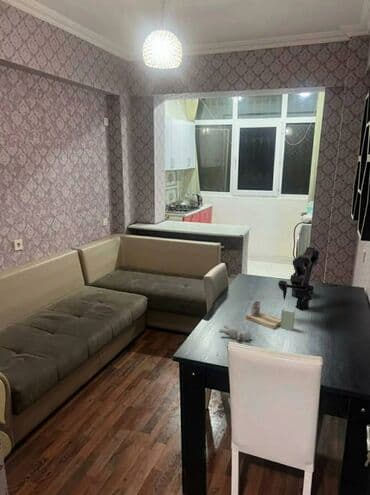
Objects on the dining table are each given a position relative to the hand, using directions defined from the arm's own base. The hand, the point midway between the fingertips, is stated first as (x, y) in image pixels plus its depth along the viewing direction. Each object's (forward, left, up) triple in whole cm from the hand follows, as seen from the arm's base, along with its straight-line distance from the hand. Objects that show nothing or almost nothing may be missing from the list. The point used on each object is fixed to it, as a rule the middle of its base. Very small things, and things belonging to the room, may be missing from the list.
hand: (292, 301), depth 193 cm
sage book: (+6, +4, -13) cm, 15 cm away
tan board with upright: (+12, -7, -13) cm, 19 cm away
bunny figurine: (+36, +3, -13) cm, 39 cm away
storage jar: (-33, -34, -13) cm, 49 cm away
